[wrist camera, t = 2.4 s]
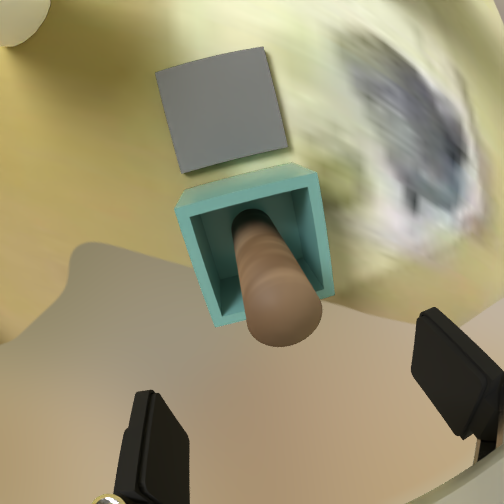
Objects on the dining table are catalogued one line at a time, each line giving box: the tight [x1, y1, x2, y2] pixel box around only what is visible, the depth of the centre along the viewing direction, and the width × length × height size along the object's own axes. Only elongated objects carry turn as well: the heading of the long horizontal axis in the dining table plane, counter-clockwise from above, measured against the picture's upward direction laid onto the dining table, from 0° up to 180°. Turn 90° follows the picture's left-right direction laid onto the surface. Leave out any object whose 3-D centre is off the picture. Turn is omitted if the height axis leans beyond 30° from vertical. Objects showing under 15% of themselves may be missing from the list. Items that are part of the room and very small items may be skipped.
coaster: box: [155, 47, 288, 174], centre depth 20 cm, size 8×8×1 cm
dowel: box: [231, 209, 322, 347], centre depth 18 cm, size 3×3×12 cm
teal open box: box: [174, 163, 335, 327], centre depth 21 cm, size 8×8×6 cm
